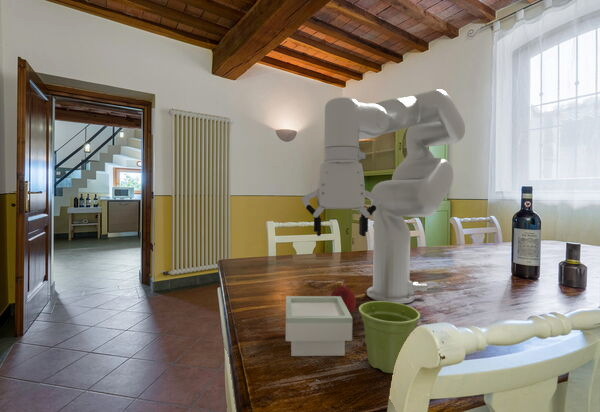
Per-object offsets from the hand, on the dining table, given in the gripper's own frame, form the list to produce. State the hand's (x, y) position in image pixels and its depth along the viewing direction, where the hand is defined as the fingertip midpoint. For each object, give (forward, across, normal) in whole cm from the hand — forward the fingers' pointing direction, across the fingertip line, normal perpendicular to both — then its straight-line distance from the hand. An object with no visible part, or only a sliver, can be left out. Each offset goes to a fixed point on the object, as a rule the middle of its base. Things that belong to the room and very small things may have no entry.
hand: (340, 235), depth 66 cm
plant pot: (+19, -5, +18) cm, 27 cm away
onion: (+19, -1, 0) cm, 19 cm away
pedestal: (+18, +6, +12) cm, 23 cm away
